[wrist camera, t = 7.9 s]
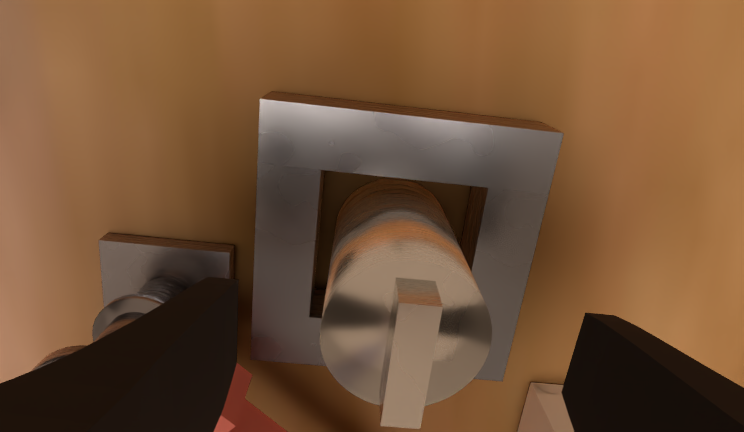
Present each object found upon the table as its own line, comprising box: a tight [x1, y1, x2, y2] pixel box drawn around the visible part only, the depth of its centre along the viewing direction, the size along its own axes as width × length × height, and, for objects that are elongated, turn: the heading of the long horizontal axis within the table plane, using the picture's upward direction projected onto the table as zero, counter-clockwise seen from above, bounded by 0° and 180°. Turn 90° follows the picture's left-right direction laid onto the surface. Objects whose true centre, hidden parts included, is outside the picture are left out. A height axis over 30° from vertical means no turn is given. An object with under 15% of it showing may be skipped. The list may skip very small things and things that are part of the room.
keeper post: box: [32, 233, 234, 371], centre depth 14 cm, size 4×4×6 cm
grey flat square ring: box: [251, 91, 564, 381], centre depth 15 cm, size 8×8×2 cm
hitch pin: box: [320, 178, 492, 429], centre depth 13 cm, size 4×4×7 cm
